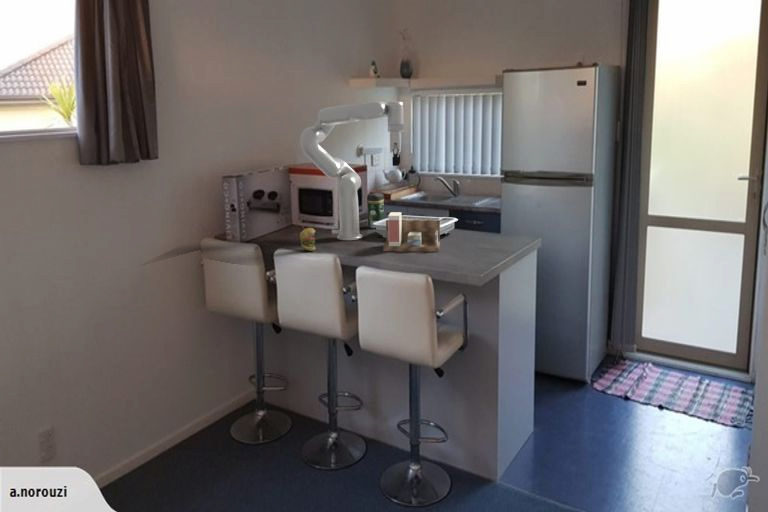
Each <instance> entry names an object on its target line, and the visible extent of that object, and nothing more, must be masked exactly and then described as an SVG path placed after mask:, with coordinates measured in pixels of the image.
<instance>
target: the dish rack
mask: <svg viewBox="0 0 768 512" xmlns="http://www.w3.org/2000/svg"><path fill="white" fill-rule="evenodd" d="M386 220H388V217H387V218H384V219H383V220H380V221H377V222H374V223H373V225H376V228H375V232H376V233H377V234H379V235H380V236H382V238H386ZM402 220H440V236H441V235H443V234H444V235H445V234H446V235H448V234H447V233H449V232H451V231H452V230H454V229H455V222H457V221H458V220H459V219H458V218H456V217H449V216H448V217H447V216H442V217H441V216H439V217H437V216H424V215H423V216H421V215H405V214H404V215H402Z"/></svg>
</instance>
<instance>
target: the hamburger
mask: <svg viewBox="0 0 768 512" xmlns="http://www.w3.org/2000/svg"><path fill="white" fill-rule="evenodd" d="M302 227H303V230H302V231H301V232H300V233H299V239H300V244H301V247H302V248H303V249H305V251H310V252H314V251H316V246H315V245H316V244H315V243H316V242H315V241H316V238H315V233H316V229H314V227H313V228H312V227H307V228H304V225H302Z"/></svg>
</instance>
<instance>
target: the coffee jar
mask: <svg viewBox="0 0 768 512" xmlns="http://www.w3.org/2000/svg"><path fill="white" fill-rule="evenodd" d="M366 197H367V199H366V202H367V227H368V228H369V229H371V230H372V229H373V230H376V225H373V223H374V222H377V221H380V220H383V219H385V211H384V210H385V208H384V207H385V206H384V205H385V204H384V201H385V197H384V194H383V193H382V192H373V193H371V194H368V195H367V196H366Z"/></svg>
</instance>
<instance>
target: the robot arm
mask: <svg viewBox="0 0 768 512" xmlns="http://www.w3.org/2000/svg"><path fill="white" fill-rule="evenodd" d="M380 118H387V132H389V152H390V154H391V153H392V159H391V160H392V166H393V167H398V166H400V164H401V155H400V153H401V151H402V132H404V131H405V130H404V129H405V125H404V122H405V121H404V103H403V102H402V101H401V100H399V101H398V100H397V101H372V102H371V101H369V102H365V103H357V104H351V103H350V104H343V105H338V106H337V105H335V106H330V107H325V108H322V109H320V110H319V112H318V114H317V119H318V120H316V122H315V123H314V125H313V126H309V127H306V128H305V129H304V130H302V132H301V134H300V135H301V136H300V139H299V140H300V141H299V144H300V148H301V150H302V152H303V154H304V155H305V156H306V158H308V160H310V161H311V162H312V163H313V165H315V167H317V168H318V170H320V171H321V172H322V173H323V174H324V175H325V176H326V177H327V178H329V179H335V180H337V184H336V186H337V194H338V209H339V211H338V213H339V229H331V234H332V235H337V236H336V238H337V240H340V241H356V240H357V241H359V240H362V239H363V238H364V237H363V234H361V233H360V217H359V215H360V213H359V212H360V211H359V196H358V190H359V189H360V188H361V186H362V179H361V176H360V175H359V174H358V173H357V172H356V171H355V170H354V169H353V168H352V167H351V166H350V165H349V164H348V163H347V162H346V161H344V160H343V159H341V158H339V157H333V156H332V155H331V154H330V153H328V152H327V150H326V149H324V148H323V147H322V146H321V145H320V143H322V142H323V141H325V139H326V138H327V137H328V135H330V133H331V132H332V130H333V129H334V128H335V127H336V126H337V125H345V124H351V123H355V122H360V121H366V120H373V119H374V120H375V119H380Z"/></svg>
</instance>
